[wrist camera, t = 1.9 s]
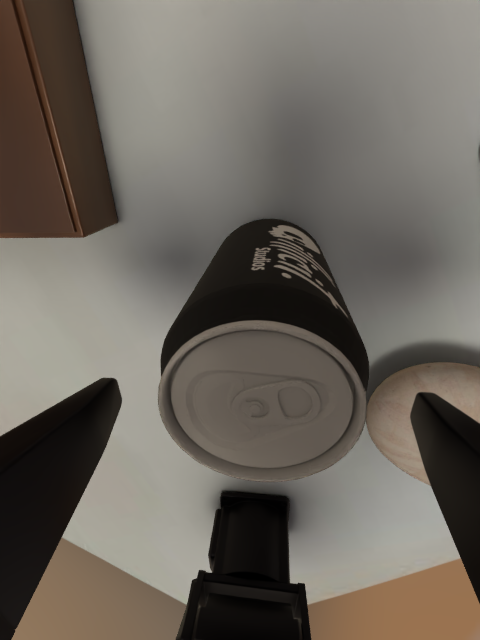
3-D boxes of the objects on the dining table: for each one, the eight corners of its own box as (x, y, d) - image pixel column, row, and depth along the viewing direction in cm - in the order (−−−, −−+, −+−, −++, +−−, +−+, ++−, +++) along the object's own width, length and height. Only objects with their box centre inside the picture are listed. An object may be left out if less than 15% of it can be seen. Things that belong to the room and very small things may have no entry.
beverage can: (201, 232, 18) (100, 337, 8) (313, 202, 17) (373, 280, 6) (232, 327, 21) (188, 498, 11) (331, 308, 20) (392, 483, 9)
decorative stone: (564, 410, 22) (638, 476, 17) (454, 474, 26) (490, 540, 21) (431, 312, 19) (477, 358, 15) (332, 398, 23) (345, 455, 19)
